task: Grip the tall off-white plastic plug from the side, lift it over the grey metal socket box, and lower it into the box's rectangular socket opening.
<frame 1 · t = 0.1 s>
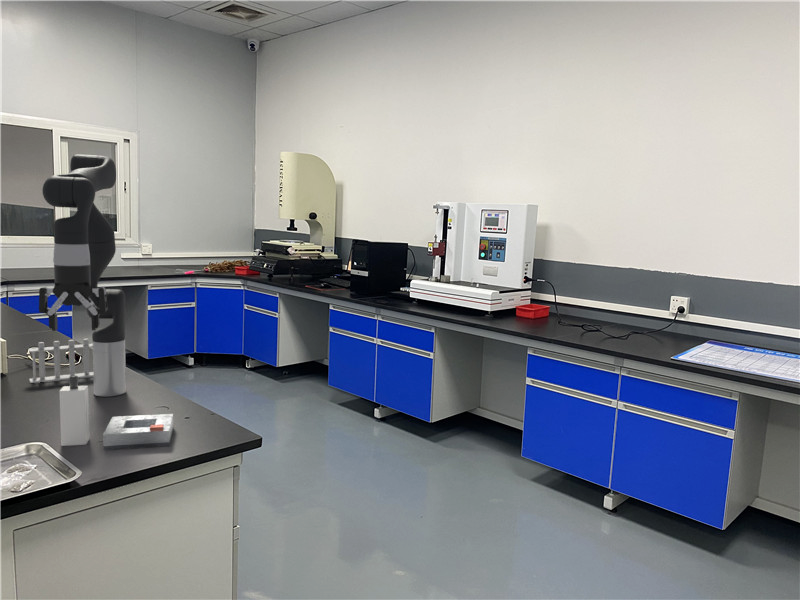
hand: (74, 330, 143), 29 cm above the countertop, tool pointing down, fingers open, 8 cm apart
plug: (75, 442, 149), on the countertop
socket box: (140, 438, 153), on the countertop
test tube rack: (72, 378, 204), on the countertop
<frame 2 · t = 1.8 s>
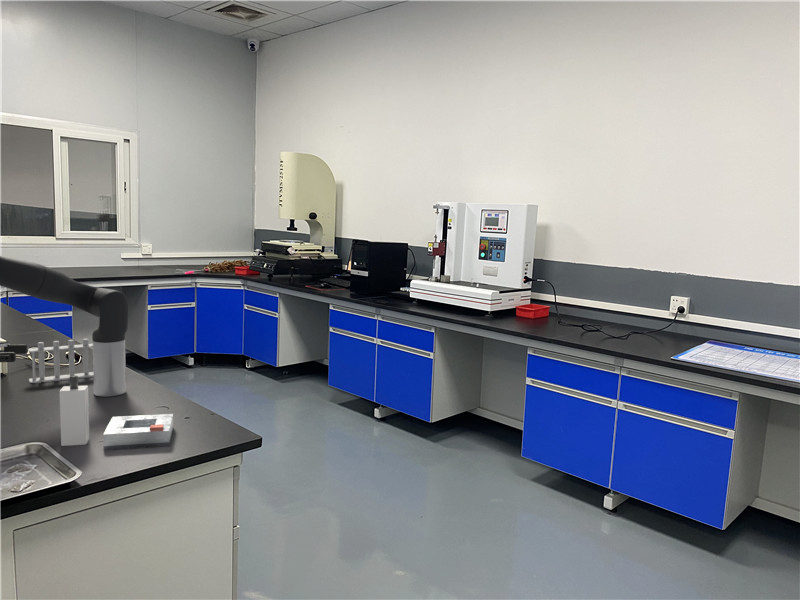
hand: (21, 352, 143), 23 cm above the countertop, tool horizontal, fingers open, 8 cm apart
nothing on the countertop moved.
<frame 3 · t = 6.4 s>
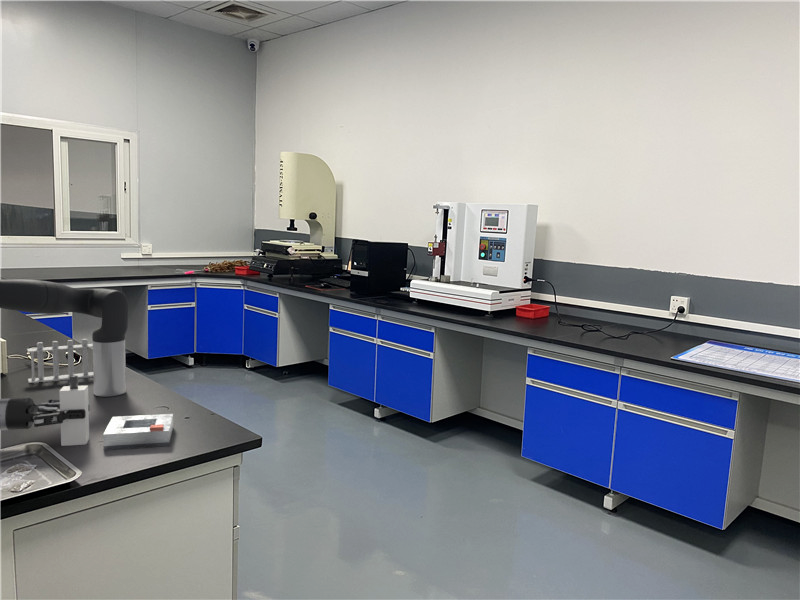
hand: (86, 410, 149), 8 cm above the countertop, tool horizontal, fingers closed on plug, 4 cm apart
plug: (75, 442, 149), on the countertop, touching gripper
everything else where it was.
when the fingers open (10 cm above the countertop, at t = 12.8 s): plug drops 1 cm, resting on socket box.
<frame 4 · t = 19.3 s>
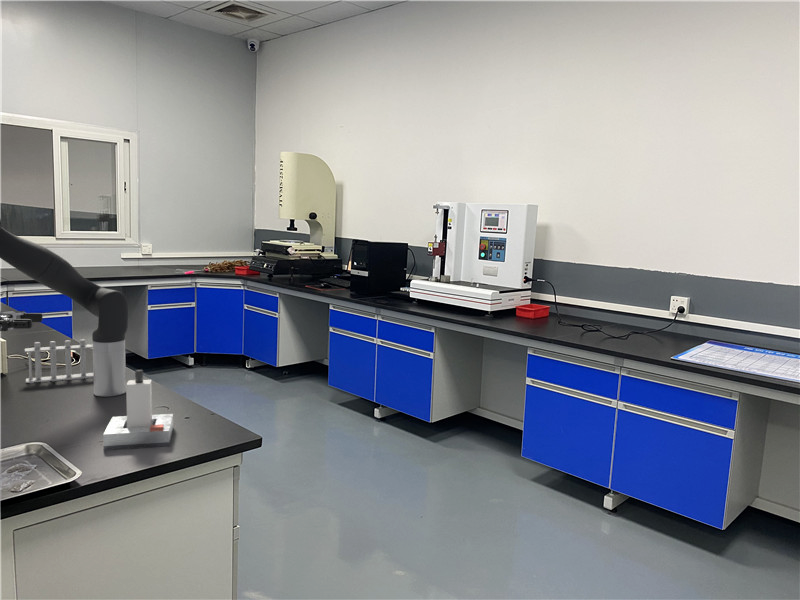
hand: (37, 320, 148), 30 cm above the countertop, tool horizontal, fingers open, 8 cm apart
plug: (139, 434, 153), point 1 cm above the countertop, touching socket box
at the end: plug 0.1 cm off-centre on the socket box, point 1.0 cm above the socket box's base; plug tilted 0°; the gripper is holding nothing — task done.
